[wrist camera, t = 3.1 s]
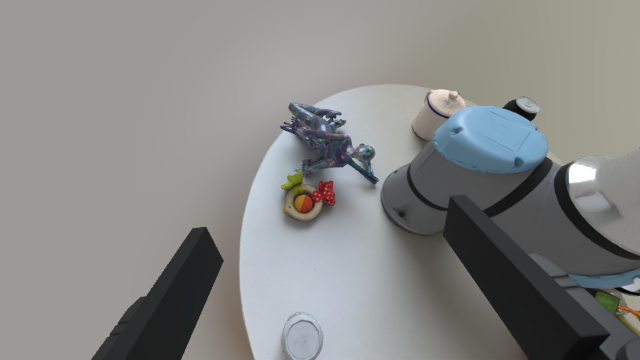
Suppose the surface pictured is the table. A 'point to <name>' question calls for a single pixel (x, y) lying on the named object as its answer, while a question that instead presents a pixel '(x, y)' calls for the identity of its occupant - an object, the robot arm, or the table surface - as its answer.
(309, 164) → the figurine
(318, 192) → the bird rattle
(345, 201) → the table surface
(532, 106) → the beverage can
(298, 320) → the beer can
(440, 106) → the teacup with lid
